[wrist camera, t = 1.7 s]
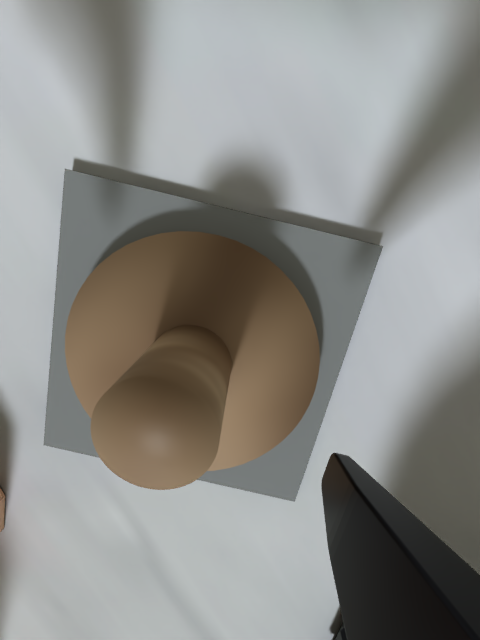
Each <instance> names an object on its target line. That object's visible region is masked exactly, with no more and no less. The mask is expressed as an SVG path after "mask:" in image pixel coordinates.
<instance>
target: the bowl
mask: <svg viewBox="0 0 480 640" xmlns="http://www.w3.org/2000/svg"><path fill="white" fill-rule="evenodd" d="M4 512H5V495H4V493H3V491H2V490H1V488H0V532H1V531H2V530H3V528H4Z"/></svg>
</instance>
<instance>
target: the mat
mask: <svg viewBox="0 0 480 640" xmlns="http://www.w3.org/2000/svg"><path fill="white" fill-rule="evenodd" d="M177 231H191V232H203V233H209V234H215V235H220V236H223V237H226V238H229V239H233V240H236V241H238V242H240V243H242V244H245V245H247V246H249V247H251V248H253V249H254V250H256V251H257V252H259V253H261V254H262V255H264V256H265V257H267V258H268V259H269V260H270V261H271V262H273V263H274V264H275V265H276V266H277V267H279V268H280V269H281V270H282V271H283V272H284V274H285V275H286V276H287V277H288V278H289V279H290V280H291V281H292V282H293V284H294V285H295V287H296V288H297V289H298V291H299V292H300V294H301V295H302V297H303V298H304V300H305V302H306V304H307V306H308V308H309V311H310V313H311V315H312V318H313V321H314V324H315V327H316V331H317V336H318V342H319V353H320V365H319V375H318V380H317V384H316V388H315V392H314V395H313V397H312V400H311V402H310V405H309V407H308V409H307V410H306V412H305V414H304V416H303V417H302V419H301V420H300V422H299V423H298V424H297V426H296V427H295V428H294V430H293V431H292V432H291V433H290V434H289V435H288V436H287V437H286V438H285V439H284V440H283V441H282V442H281V443H279V444H278V445H277V446H275V447H274V448H273V449H271V450H270V451H268V452H267V453H265V454H263V455H262V456H260V457H258V458H256V459H254V460H252V461H249V462H247V463H245V464H242V465H238V466H235V467H231V468H227V469H221V470H215V471H206V472H205V473H204V474H203V475H202V476H201V477H200V478H198V479H197V480H201V481H206V482H210V483H214V484H219V485H223V486H228V487H232V488H237V489H241V490H246V491H250V492H254V493H259V494H263V495H268V496H272V497H277V498H281V499H286V500H290V501H294V502H295V499H296V496H297V493H298V490H299V487H300V484H301V482H302V479H303V476H304V473H305V470H306V467H307V464H308V461H309V458H310V456H311V453H312V450H313V447H314V444H315V441H316V438H317V435H318V432H319V430H320V427H321V424H322V421H323V418H324V415H325V412H326V409H327V406H328V403H329V401H330V398H331V395H332V392H333V389H334V386H335V383H336V380H337V377H338V375H339V372H340V369H341V366H342V363H343V360H344V357H345V354H346V351H347V349H348V346H349V343H350V340H351V337H352V334H353V331H354V328H355V325H356V323H357V320H358V317H359V314H360V311H361V308H362V305H363V302H364V299H365V297H366V294H367V291H368V288H369V285H370V282H371V279H372V276H373V273H374V270H375V268H376V265H377V262H378V259H379V256H380V253H381V250H382V247H383V246H379V245H375V244H371V243H367V242H363V241H359V240H355V239H351V238H347V237H342V236H338V235H334V234H330V233H326V232H322V231H318V230H314V229H310V228H306V227H302V226H297V225H293V224H289V223H285V222H281V221H277V220H273V219H269V218H265V217H261V216H256V215H252V214H248V213H244V212H240V211H236V210H232V209H228V208H224V207H220V206H216V205H211V204H207V203H203V202H199V201H195V200H191V199H187V198H183V197H179V196H175V195H170V194H166V193H162V192H158V191H154V190H150V189H146V188H142V187H138V186H134V185H129V184H125V183H121V182H117V181H113V180H109V179H105V178H101V177H97V176H93V175H89V174H84V173H80V172H76V171H72V170H68V169H65V175H64V188H63V201H62V214H61V227H60V240H59V252H58V265H57V278H56V291H55V304H54V317H53V330H52V343H51V356H50V369H49V382H48V395H47V408H46V421H45V434H44V445H46V446H50V447H55V448H59V449H63V450H68V451H72V452H77V453H81V454H86V455H90V456H95V457H99V455H98V453H97V452H96V450H95V447H94V445H93V441H92V437H91V430H90V427H91V418H90V417H89V415H88V414H87V412H86V411H85V410H84V408H83V406H82V404H81V403H80V401H79V399H78V397H77V395H76V393H75V391H74V388H73V386H72V383H71V380H70V377H69V373H68V369H67V364H66V356H65V333H66V326H67V320H68V316H69V313H70V310H71V307H72V304H73V302H74V300H75V297H76V295H77V293H78V291H79V289H80V288H81V286H82V285H83V283H84V282H85V280H86V279H87V277H88V276H89V275H90V274H91V273H92V272H93V271H94V269H95V268H96V267H97V266H98V265H99V264H100V263H101V262H103V261H104V260H105V259H106V258H107V257H109V256H110V255H111V254H112V253H114V252H116V251H117V250H119V249H121V248H122V247H124V246H126V245H127V244H130V243H132V242H135V241H137V240H139V239H142V238H145V237H148V236H152V235H156V234H160V233H168V232H177ZM99 458H100V457H99Z"/></svg>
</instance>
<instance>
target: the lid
mask: <svg viewBox="0 0 480 640" xmlns="http://www.w3.org/2000/svg"><path fill="white" fill-rule="evenodd" d="M65 356H66V364H67V369H68V373H69V377H70V380H71V383H72V386H73V388H74V391H75V393H76V395H77V397H78V399H79V401H80V403H81V404H82V406H83V408H84V410H85V411H86V412H87V414H88V415H89V417H90V418H91V427H90V430H91V437H92V441H93V445H94V447H95V450H96V452H97V453H98V455H99V457H100V458H101V460H102V461H103V462H104V464H105V465H106V466H107V467H108V468H109V469H110V470H111V471H112V472H114V473H115V474H116V475H117V476H119V477H120V478H122V479H124V480H125V481H127V482H129V483H132V484H134V485H137V486H140V487H144V488H149V489H158V490H165V489H174V488H178V487H182V486H185V485H187V484H190V483H192V482H193V481H195V480H197V479H198V478H200V477H201V476H202V475H203V474H204V473H205V472H206V471H215V470H221V469H227V468H231V467H235V466H238V465H242V464H245V463H247V462H249V461H252V460H254V459H256V458H258V457H260V456H262V455H263V454H265V453H267V452H268V451H270V450H271V449H273V448H274V447H275V446H277V445H278V444H279V443H281V442H282V441H283V440H284V439H285V438H286V437H287V436H288V435H289V434H290V433H291V432H292V431H293V430H294V428H295V427H296V426H297V424H298V423H299V422H300V420H301V419H302V417H303V416H304V414H305V412H306V410H307V409H308V407H309V405H310V402H311V400H312V397H313V395H314V392H315V388H316V384H317V380H318V375H319V365H320V353H319V342H318V336H317V331H316V327H315V324H314V321H313V318H312V315H311V313H310V311H309V308H308V306H307V304H306V302H305V300H304V298H303V297H302V295H301V294H300V292H299V291H298V289H297V288H296V287H295V285H294V284H293V282H292V281H291V280H290V279H289V278H288V277H287V276H286V275H285V274H284V272H283V271H282V270H281V269H280V268H279V267H277V266H276V265H275V264H274V263H273V262H271V261H270V260H269V259H268V258H267V257H265V256H264V255H262V254H261V253H259V252H257V251H256V250H254V249H253V248H251V247H249V246H247V245H245V244H242V243H240V242H238V241H236V240H233V239H229V238H226V237H223V236H220V235H215V234H209V233H203V232H191V231H177V232H168V233H160V234H156V235H152V236H148V237H145V238H142V239H139V240H137V241H135V242H132V243H130V244H127V245H126V246H124V247H122V248H121V249H119V250H117V251H116V252H114V253H112V254H111V255H110V256H109V257H107V258H106V259H105V260H104V261H103V262H101V263H100V264H99V265H98V266H97V267H96V268H95V269H94V271H93V272H92V273H91V274H90V275H89V276H88V277H87V279H86V280H85V282H84V283H83V285H82V286H81V288H80V289H79V291H78V293H77V295H76V297H75V300H74V302H73V304H72V307H71V310H70V313H69V316H68V320H67V326H66V333H65Z"/></svg>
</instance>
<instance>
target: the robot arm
mask: <svg viewBox="0 0 480 640" xmlns="http://www.w3.org/2000/svg"><path fill="white" fill-rule="evenodd" d="M322 496H323V505H324V514H325V523H326V532H327V541H328V549H329V555H330V560H331V565H332V570H333V575H334V579H335V584H336V589H337V594H338V599H339V603H340V608H341V613H342V618H343V623H342V626H341V628H340V630H339V632H338V634H337V637H336V639H335V640H480V575H479V574H478V573H477V572H476V571H475V570H474V569H473V568H471V567H470V566H469V565H468V564H467V563H466V562H465V561H464V560H463V559H462V558H460V557H459V556H458V555H457V554H456V553H455V552H454V551H453V550H452V549H451V548H449V547H448V546H447V545H446V544H445V543H444V542H443V541H442V540H441V539H439V538H438V537H437V536H436V535H435V534H434V533H433V532H432V531H431V530H430V529H428V528H427V527H426V526H425V525H424V524H423V523H422V522H421V521H420V520H419V519H417V518H416V517H415V516H414V515H413V514H412V513H411V512H410V511H409V510H408V509H406V508H405V507H404V506H403V505H402V504H401V503H400V502H399V501H398V500H397V499H395V498H394V497H393V496H392V495H391V494H390V493H389V492H388V491H387V490H386V489H384V488H383V487H382V486H381V485H380V484H379V483H378V482H377V481H376V480H375V479H373V478H372V477H371V476H370V475H369V474H368V473H367V472H366V471H365V470H364V469H362V468H361V467H360V466H359V465H358V464H357V463H356V462H355V461H354V460H352V459H351V458H350V457H349V456H347V455H342V454H338V453H333V454H332V455H331V456H330V459H329V461H328V464H327V467H326V470H325V472H324V475H323V478H322Z"/></svg>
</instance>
